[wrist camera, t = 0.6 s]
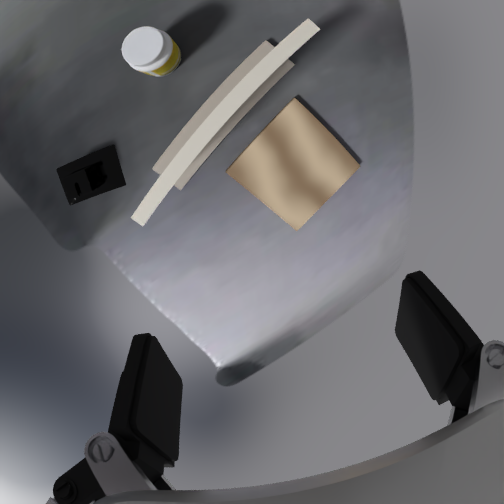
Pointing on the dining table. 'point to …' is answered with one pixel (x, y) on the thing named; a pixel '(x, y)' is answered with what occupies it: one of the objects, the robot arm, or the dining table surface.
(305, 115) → the coaster
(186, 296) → the dining table surface
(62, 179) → the black phone stand
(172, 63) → the supplement bottle
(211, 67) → the dining table surface
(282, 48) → the screen
